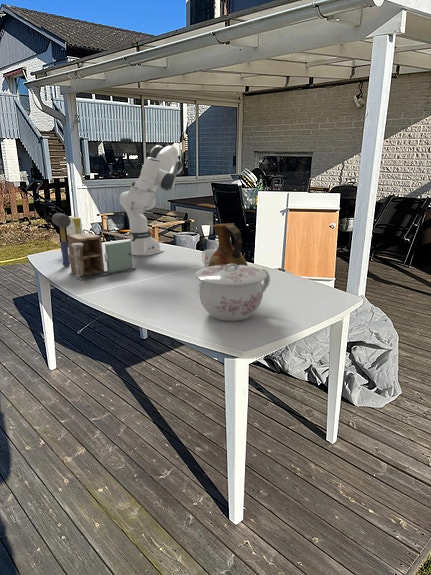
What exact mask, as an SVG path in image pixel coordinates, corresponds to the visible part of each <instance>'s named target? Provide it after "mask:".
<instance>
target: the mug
mask: <svg viewBox="0 0 431 575" xmlns="http://www.w3.org/2000/svg"><path fill="white" fill-rule="evenodd" d="M217 249H218V248H217ZM217 249H215V248H210V249H205V250H203V251H202V252H201V260H202V263H203V264H204V268H205V267H208V266H209V262H210V259H211V257H212V255H213V253H214V252H215V251H216V250H217Z"/></svg>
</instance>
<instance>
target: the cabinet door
mask: <svg viewBox="0 0 431 575" xmlns="http://www.w3.org/2000/svg"><path fill="white" fill-rule="evenodd" d="M104 246H105V253H104V254H103V256H104V261H105V263H106V267H107V268H106V271H108V273H110V272H115V271H119V270H124V269H129V268H134V265H133V255H132V249H131V240H130V239H129V240H121V241H116V242H111V243H110V242H109V243H105V245H104Z"/></svg>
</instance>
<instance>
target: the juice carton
mask: <svg viewBox="0 0 431 575" xmlns="http://www.w3.org/2000/svg"><path fill="white" fill-rule="evenodd" d="M68 217H69V218H70V220H71V223H70V225H69V226H68V227H66V228H65V229H66V230H65V231H66V236H67V235H74V234H82V233H83V232H84V230H83V224H82V218H81V217H76V216H74V217H73V215H70V216H68Z"/></svg>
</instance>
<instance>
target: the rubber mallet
mask: <svg viewBox="0 0 431 575" xmlns="http://www.w3.org/2000/svg"><path fill="white" fill-rule="evenodd" d="M51 222H52V223H53V224H54V225H56V226H57V227H58V228H59V231H60V232H59V233H60V240H61V241H60V251H61V255H62V266H63V268H64V267H65V268H68V267H70V266H71V264H70V255H69V247H68V240H67V235H66V230H65V229H66V227H68V226H69V225H70V223H71V220H70V218H69V216H68V215H66V214H65V213H62V212H56V213H54V214H53V215H52V216H51Z"/></svg>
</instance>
